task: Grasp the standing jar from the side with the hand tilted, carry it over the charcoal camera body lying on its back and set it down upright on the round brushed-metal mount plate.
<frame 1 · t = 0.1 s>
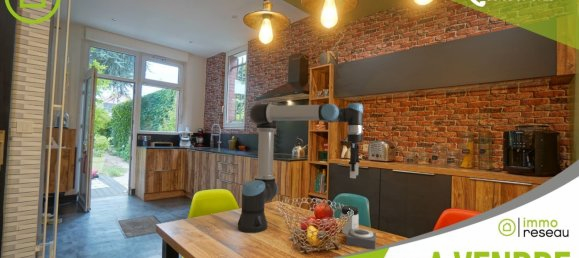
hand: (354, 176, 135), 28 cm above the table, tool pointing down, fingers open, 13 cm apart
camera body: (361, 242, 122), on the table
jar: (349, 232, 135), on the table
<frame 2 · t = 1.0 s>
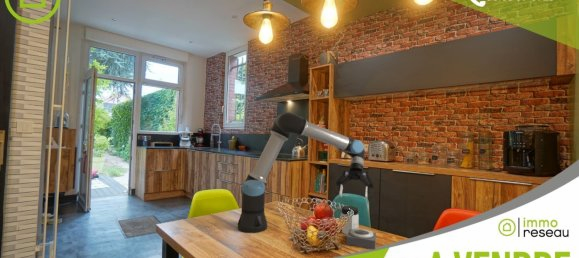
hand: (353, 197, 144), 16 cm above the table, tool tilted 45°, fingers open, 13 cm apart
nothing on the table moved.
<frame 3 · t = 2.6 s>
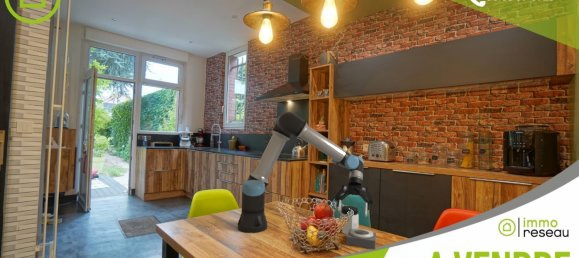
hand: (352, 213, 138), 8 cm above the table, tool tilted 45°, fingers open, 13 cm apart
nothing on the table moved.
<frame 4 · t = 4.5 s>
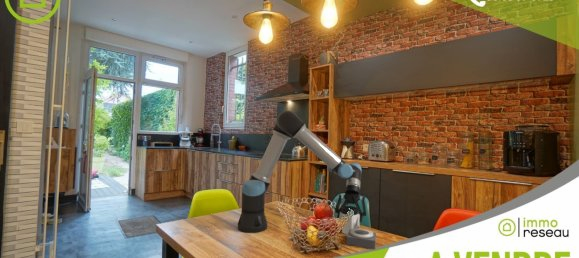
hand: (348, 226, 132), 4 cm above the table, tool tilted 45°, fingers closed on jar, 8 cm apart
jar: (349, 232, 135), on the table, touching gripper
everything else where it was.
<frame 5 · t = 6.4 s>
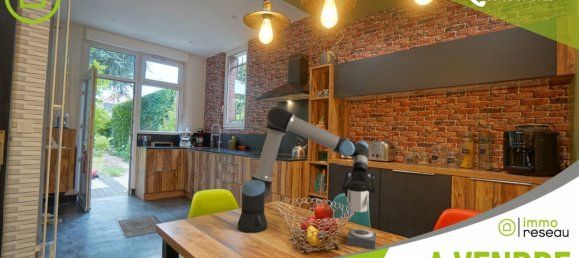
hand: (357, 203, 126), 17 cm above the table, tool tilted 45°, fingers closed on jar, 8 cm apart
jar: (357, 210, 129), point 13 cm above the table, touching gripper
everything else where it was.
when the fingers open (10 cm above the table, at t = 8.5 s): jar drops 1 cm, resting on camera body.
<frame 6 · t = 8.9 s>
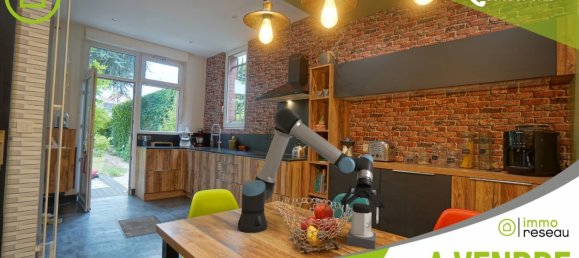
hand: (361, 220, 120), 11 cm above the table, tool tilted 45°, fingers open, 13 cm apart
jar: (360, 232, 122), point 4 cm above the table, touching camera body
everything else where it was.
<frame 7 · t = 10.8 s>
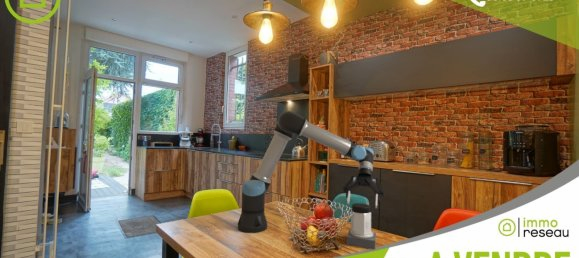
hand: (361, 204, 133), 14 cm above the table, tool tilted 45°, fingers open, 13 cm apart
nothing on the table moved.
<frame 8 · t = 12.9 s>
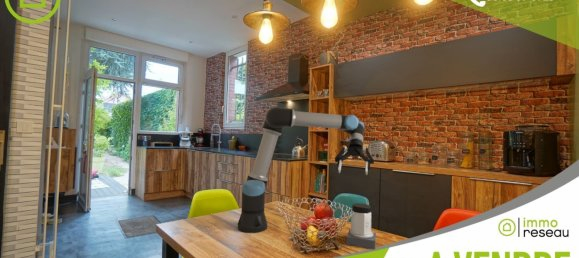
hand: (352, 172, 138), 30 cm above the table, tool tilted 45°, fingers open, 13 cm apart
nothing on the table moved.
at the end: jar inside the target area on the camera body (0.4 cm from its centre), point 4.3 cm above the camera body's base; jar tilted 0°; the gripper is holding nothing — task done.
